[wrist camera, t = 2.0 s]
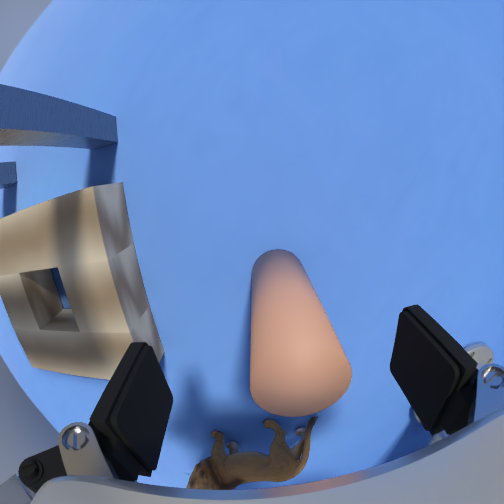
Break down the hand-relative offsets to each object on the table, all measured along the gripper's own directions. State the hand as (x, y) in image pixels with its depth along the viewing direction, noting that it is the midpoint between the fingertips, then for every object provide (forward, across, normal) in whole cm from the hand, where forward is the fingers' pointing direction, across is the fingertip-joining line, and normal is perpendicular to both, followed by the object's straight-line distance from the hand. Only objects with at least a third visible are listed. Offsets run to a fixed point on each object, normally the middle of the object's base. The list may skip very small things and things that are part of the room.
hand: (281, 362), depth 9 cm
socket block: (+11, +16, 0) cm, 19 cm away
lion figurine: (+10, +4, +20) cm, 22 cm away
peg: (+10, -1, +1) cm, 10 cm away
